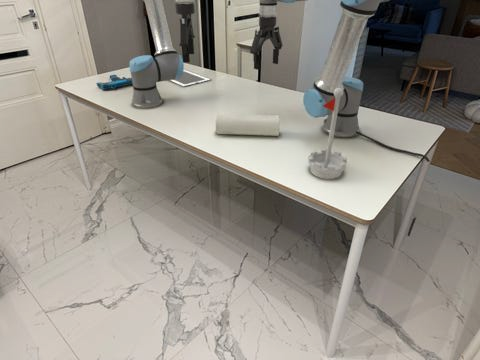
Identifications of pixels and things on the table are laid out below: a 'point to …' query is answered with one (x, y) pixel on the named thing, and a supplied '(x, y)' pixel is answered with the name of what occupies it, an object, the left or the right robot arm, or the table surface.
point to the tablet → (189, 79)
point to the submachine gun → (115, 82)
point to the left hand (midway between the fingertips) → (188, 58)
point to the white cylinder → (247, 124)
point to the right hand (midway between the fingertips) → (266, 66)
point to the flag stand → (329, 148)
